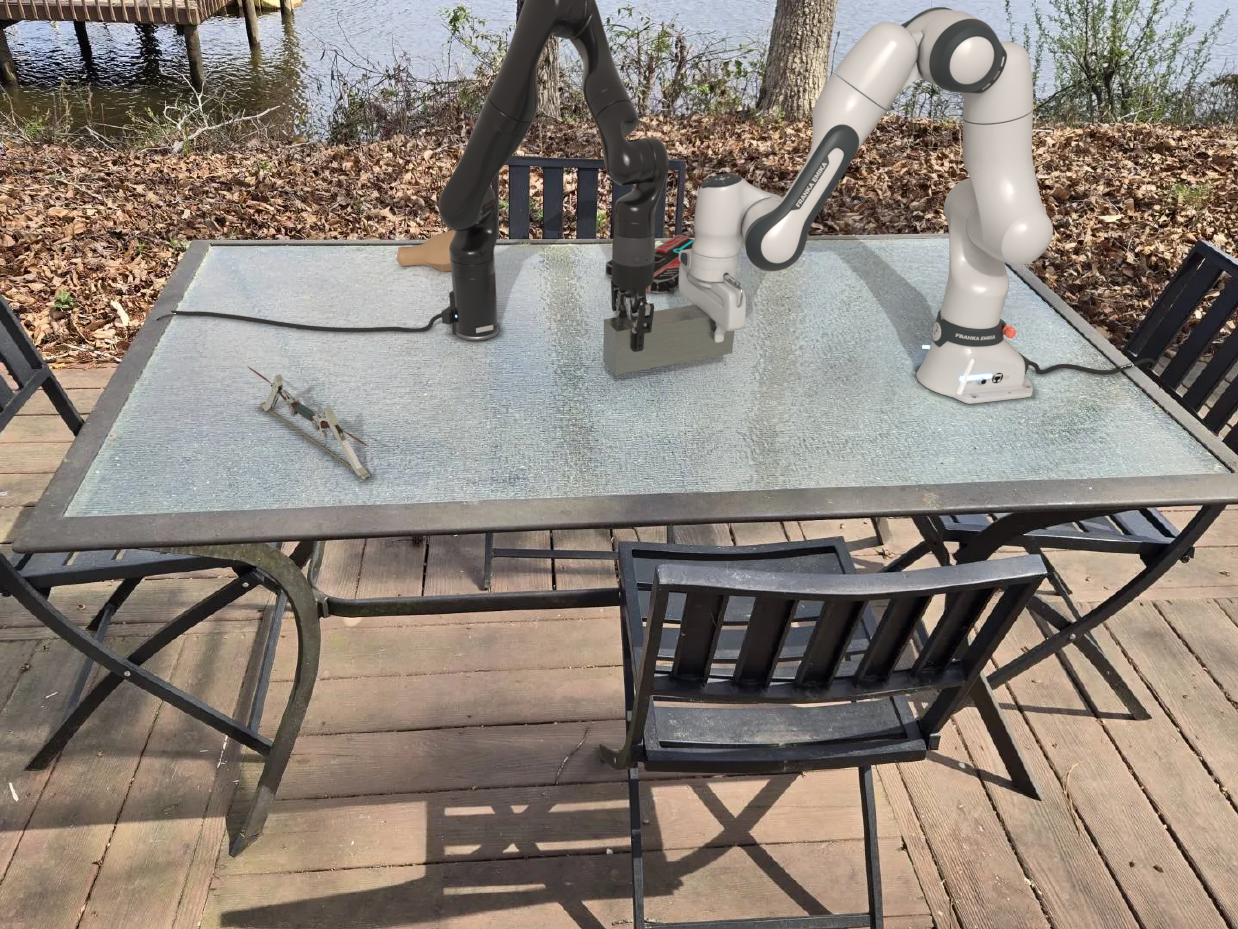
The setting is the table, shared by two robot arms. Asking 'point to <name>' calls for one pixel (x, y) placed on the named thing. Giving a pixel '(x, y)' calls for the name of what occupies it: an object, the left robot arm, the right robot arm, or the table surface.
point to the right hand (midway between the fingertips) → (708, 333)
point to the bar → (663, 340)
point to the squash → (429, 252)
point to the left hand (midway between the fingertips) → (630, 343)
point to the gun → (665, 264)
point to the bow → (314, 422)
